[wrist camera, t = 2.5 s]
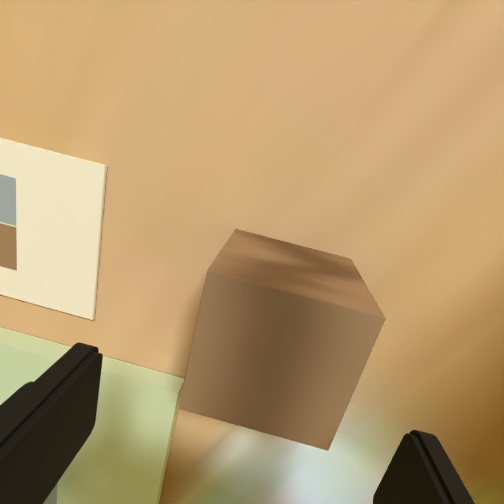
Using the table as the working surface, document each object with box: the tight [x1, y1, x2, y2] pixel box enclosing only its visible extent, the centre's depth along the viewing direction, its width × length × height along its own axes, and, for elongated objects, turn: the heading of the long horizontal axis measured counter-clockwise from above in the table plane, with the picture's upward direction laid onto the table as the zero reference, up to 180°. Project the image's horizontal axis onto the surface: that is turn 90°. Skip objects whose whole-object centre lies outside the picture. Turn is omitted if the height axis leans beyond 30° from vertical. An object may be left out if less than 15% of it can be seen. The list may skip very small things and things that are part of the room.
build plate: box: [0, 327, 185, 504], centre depth 21 cm, size 16×16×1 cm
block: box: [179, 229, 385, 450], centre depth 14 cm, size 6×6×6 cm
